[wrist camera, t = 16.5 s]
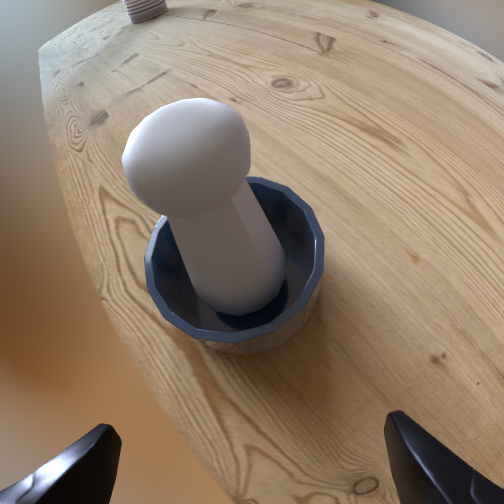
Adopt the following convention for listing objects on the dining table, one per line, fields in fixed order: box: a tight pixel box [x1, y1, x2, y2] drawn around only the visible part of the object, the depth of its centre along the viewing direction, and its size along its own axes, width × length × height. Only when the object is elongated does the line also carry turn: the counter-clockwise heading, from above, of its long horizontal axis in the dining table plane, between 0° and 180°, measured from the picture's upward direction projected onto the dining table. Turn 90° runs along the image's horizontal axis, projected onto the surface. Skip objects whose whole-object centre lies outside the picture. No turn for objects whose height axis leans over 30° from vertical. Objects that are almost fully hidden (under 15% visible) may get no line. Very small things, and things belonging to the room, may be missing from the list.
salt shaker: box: [122, 98, 286, 316], centre depth 14 cm, size 6×6×13 cm
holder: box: [144, 177, 325, 354], centre depth 18 cm, size 10×10×5 cm
